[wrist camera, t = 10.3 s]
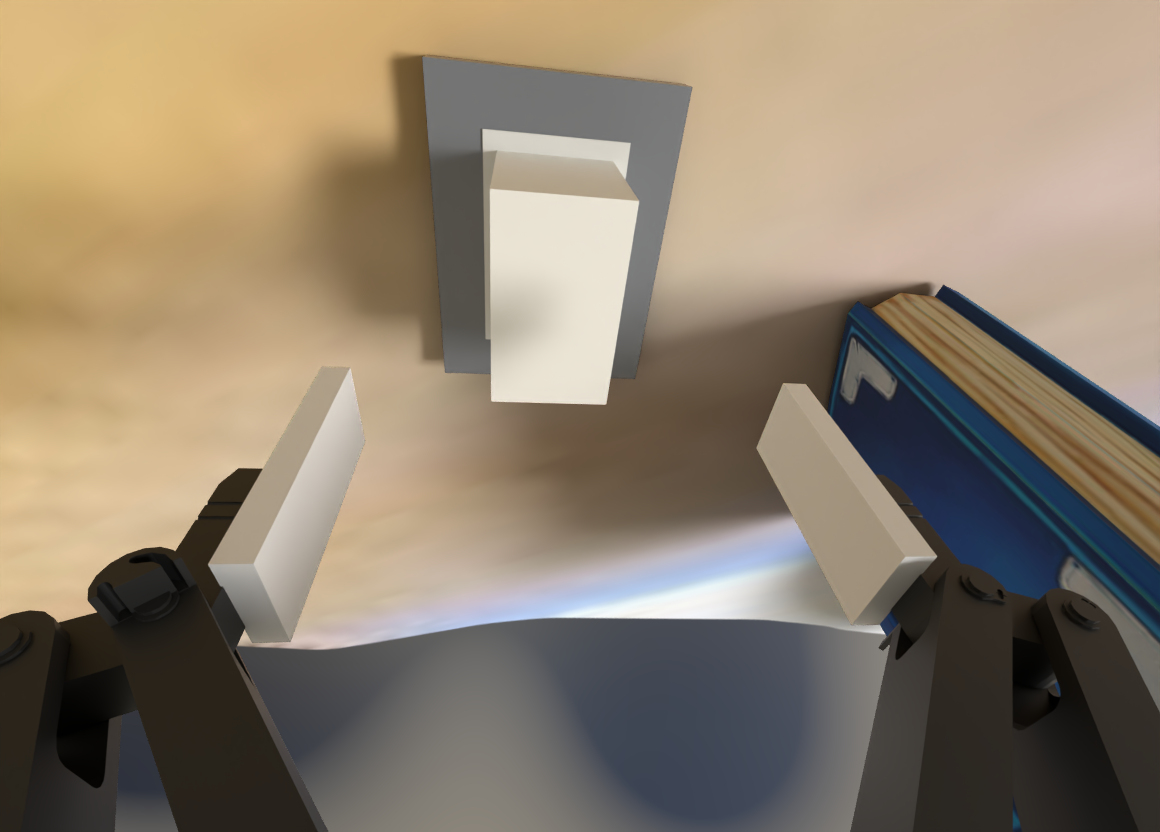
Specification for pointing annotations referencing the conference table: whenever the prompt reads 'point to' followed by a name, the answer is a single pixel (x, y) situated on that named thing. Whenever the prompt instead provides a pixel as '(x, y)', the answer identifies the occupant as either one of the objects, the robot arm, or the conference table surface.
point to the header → (547, 127)
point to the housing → (557, 276)
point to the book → (1008, 457)
